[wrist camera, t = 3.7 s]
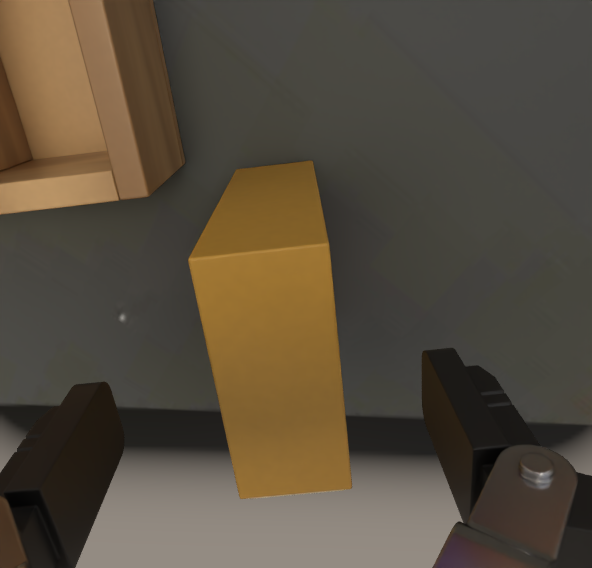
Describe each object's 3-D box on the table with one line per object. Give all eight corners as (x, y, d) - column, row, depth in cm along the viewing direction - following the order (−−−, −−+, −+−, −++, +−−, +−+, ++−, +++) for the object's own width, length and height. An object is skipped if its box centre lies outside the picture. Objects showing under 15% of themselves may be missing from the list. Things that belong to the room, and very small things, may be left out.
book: (312, 159, 22) (329, 242, 12) (329, 321, 25) (353, 495, 15) (235, 169, 22) (186, 258, 12) (261, 328, 25) (240, 505, 15)
